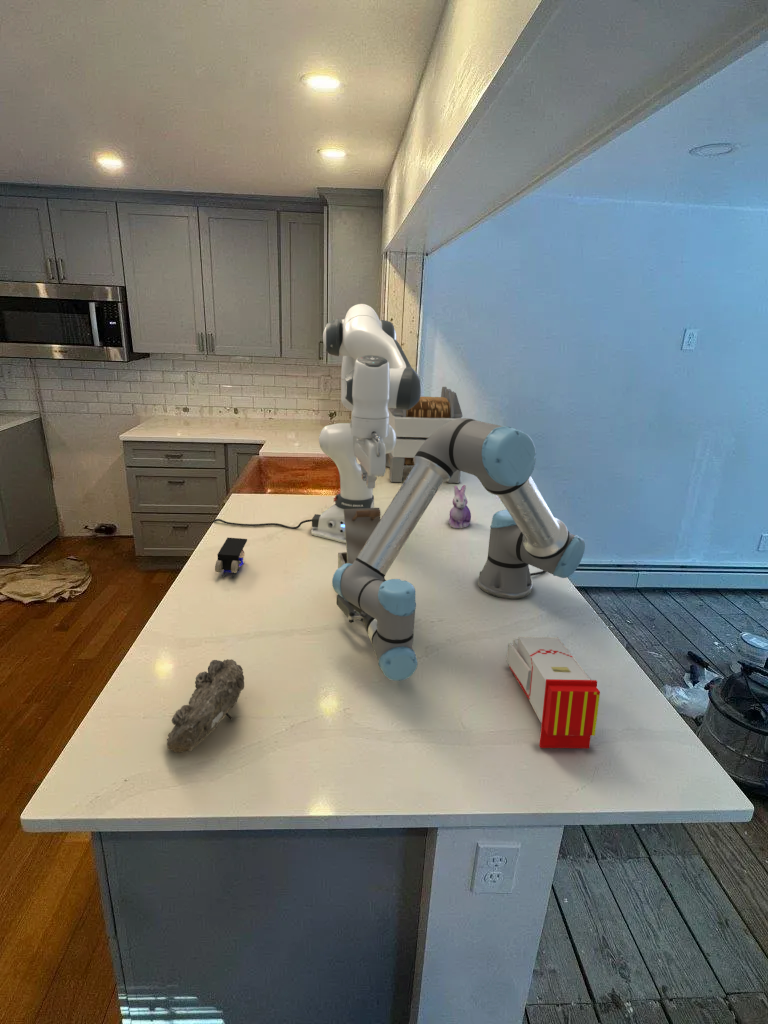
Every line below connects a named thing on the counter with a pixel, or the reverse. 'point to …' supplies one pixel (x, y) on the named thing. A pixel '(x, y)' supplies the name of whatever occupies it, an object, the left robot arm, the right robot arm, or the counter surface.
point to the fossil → (206, 705)
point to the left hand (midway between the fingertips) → (367, 483)
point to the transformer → (419, 429)
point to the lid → (359, 529)
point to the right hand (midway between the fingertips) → (363, 583)
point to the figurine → (459, 509)
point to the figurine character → (230, 556)
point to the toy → (555, 691)
